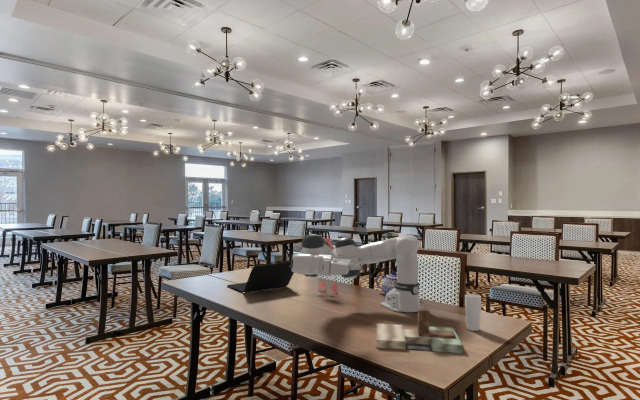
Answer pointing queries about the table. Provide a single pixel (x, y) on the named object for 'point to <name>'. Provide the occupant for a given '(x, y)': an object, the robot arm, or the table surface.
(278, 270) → the laptop
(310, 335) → the table surface
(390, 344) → the board
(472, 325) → the drinking glass
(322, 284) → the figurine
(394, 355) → the table surface
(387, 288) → the teapot
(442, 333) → the push block
